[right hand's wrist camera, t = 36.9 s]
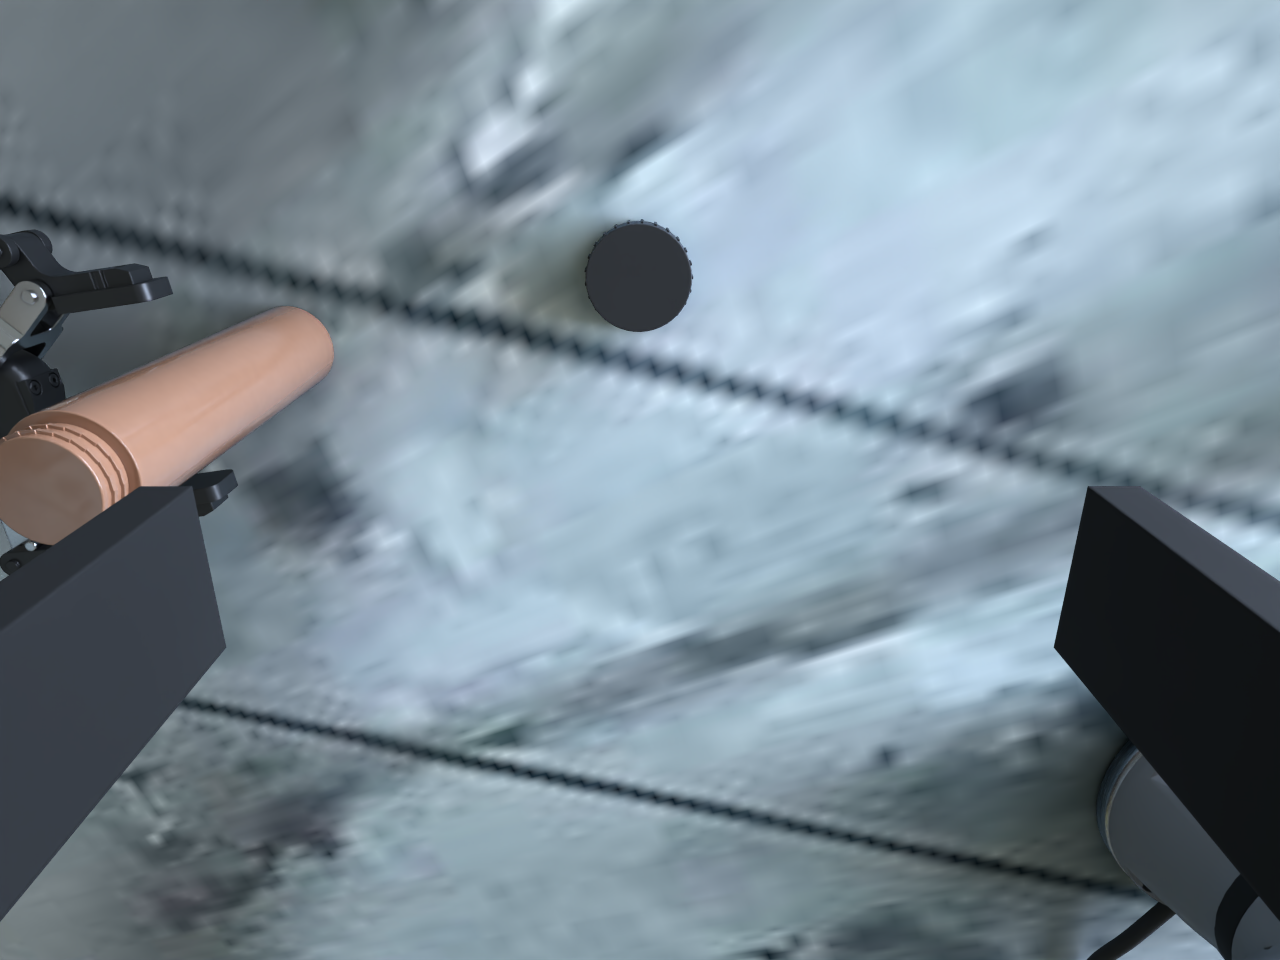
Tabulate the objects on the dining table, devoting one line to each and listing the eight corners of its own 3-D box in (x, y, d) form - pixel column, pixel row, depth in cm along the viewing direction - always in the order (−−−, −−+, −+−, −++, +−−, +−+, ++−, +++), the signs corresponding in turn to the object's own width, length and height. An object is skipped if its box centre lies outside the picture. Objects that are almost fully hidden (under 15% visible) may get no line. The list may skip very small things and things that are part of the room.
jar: (335, 314, 41) (113, 437, 23) (332, 395, 42) (120, 567, 25) (249, 298, 40) (-41, 412, 23) (248, 381, 42) (-24, 545, 25)
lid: (564, 266, 40) (561, 271, 38) (646, 195, 39) (646, 197, 37) (631, 347, 41) (631, 354, 40) (712, 281, 40) (715, 286, 39)
